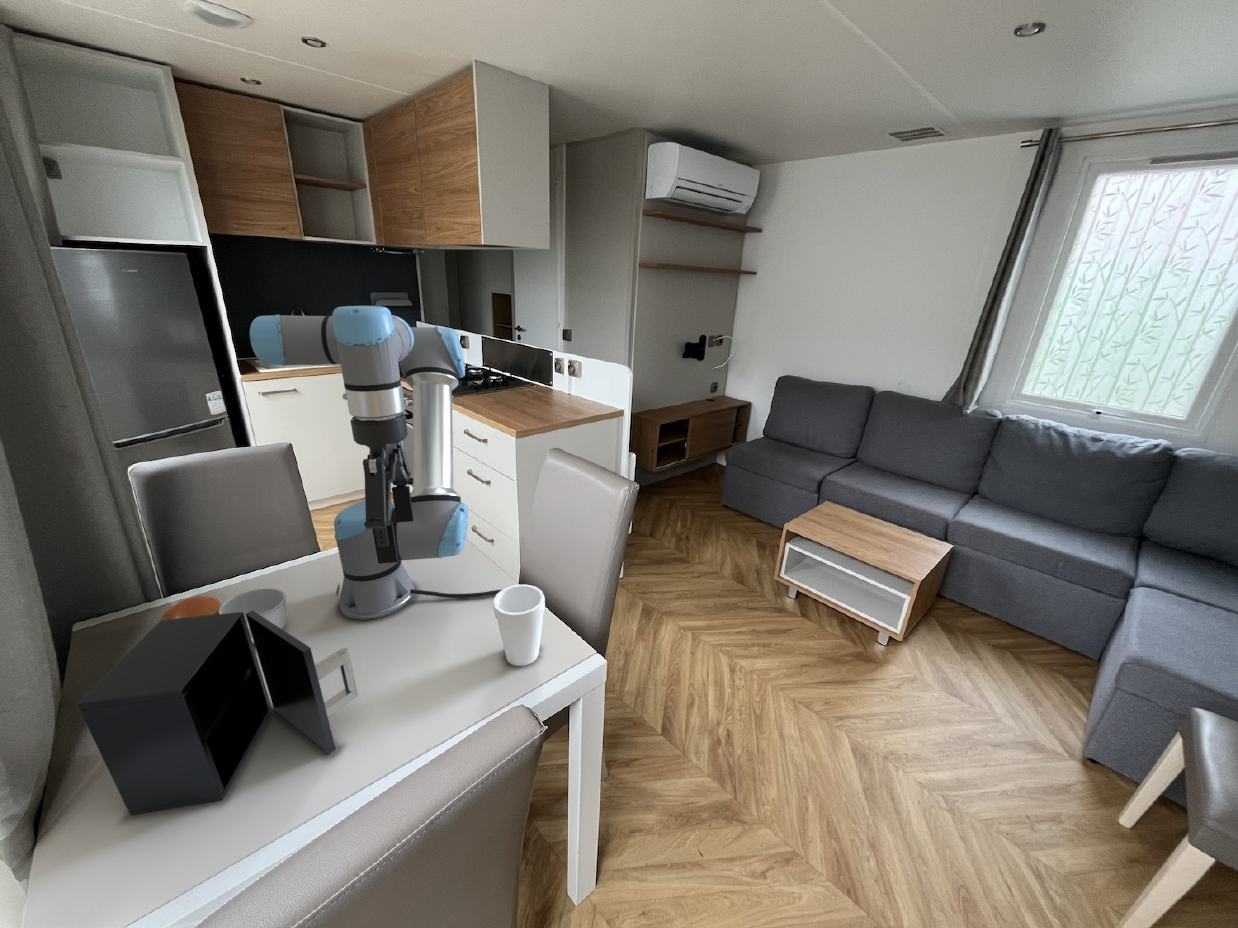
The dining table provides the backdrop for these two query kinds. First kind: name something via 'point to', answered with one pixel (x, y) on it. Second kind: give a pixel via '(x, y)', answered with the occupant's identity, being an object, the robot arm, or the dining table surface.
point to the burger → (193, 608)
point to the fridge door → (300, 680)
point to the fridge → (179, 712)
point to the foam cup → (520, 622)
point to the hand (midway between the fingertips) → (397, 539)
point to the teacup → (259, 605)
